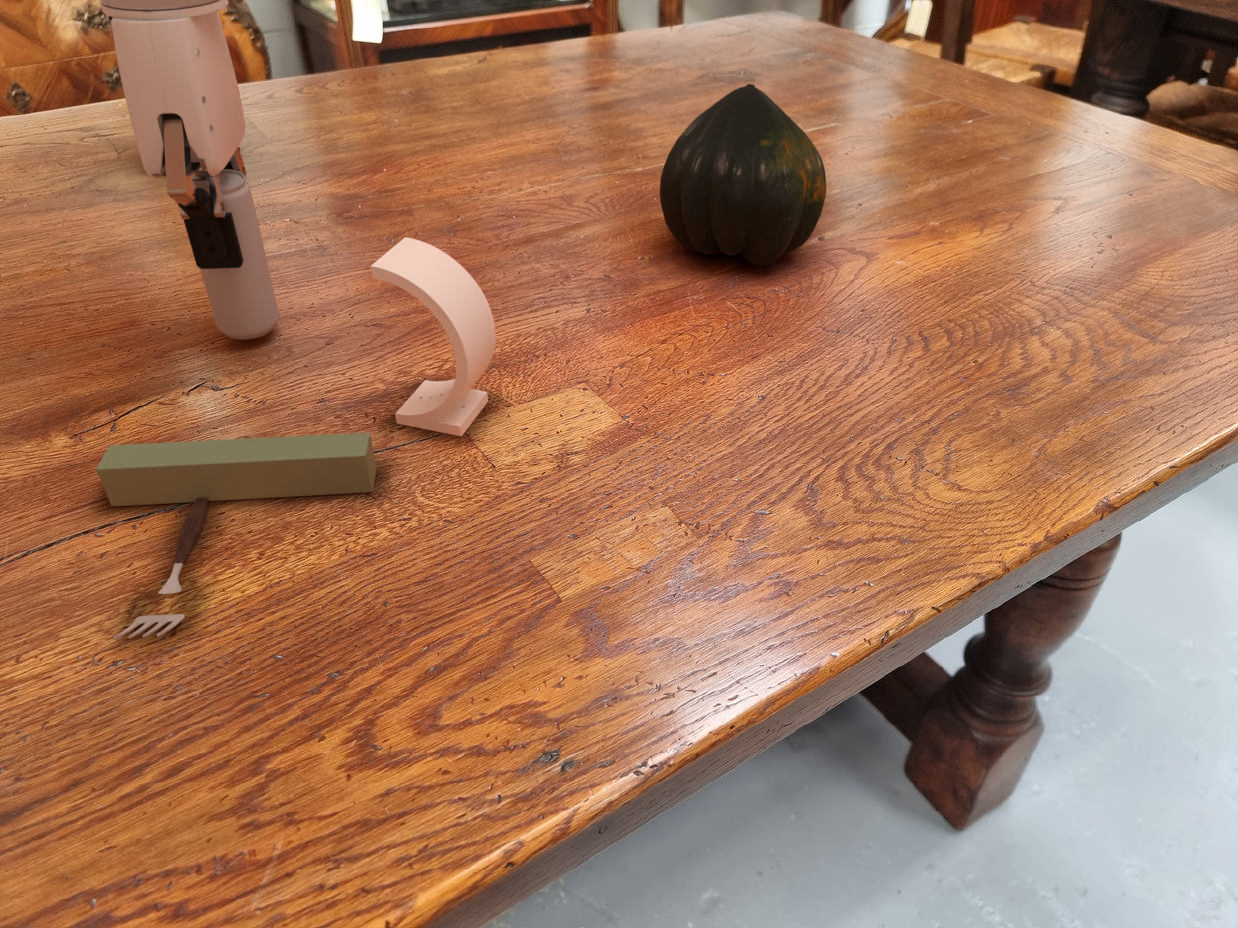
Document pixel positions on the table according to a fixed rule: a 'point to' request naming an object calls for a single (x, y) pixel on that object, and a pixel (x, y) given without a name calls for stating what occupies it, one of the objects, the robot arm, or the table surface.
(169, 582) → the fork
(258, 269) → the beverage can
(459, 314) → the headphone stand
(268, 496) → the rail
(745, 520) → the table surface
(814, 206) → the squash
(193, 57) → the robot arm
